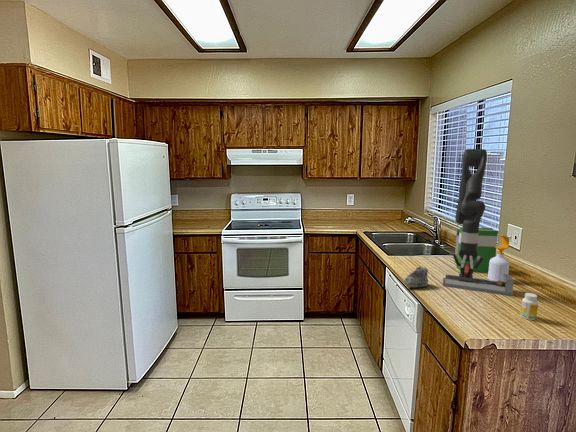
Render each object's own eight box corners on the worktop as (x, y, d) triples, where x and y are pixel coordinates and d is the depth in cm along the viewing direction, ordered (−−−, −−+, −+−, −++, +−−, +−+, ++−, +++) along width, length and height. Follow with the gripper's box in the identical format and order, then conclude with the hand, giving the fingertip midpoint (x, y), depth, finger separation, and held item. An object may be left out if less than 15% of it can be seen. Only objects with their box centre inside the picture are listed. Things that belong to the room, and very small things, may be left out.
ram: (458, 280, 177) (460, 262, 176) (471, 281, 175) (473, 263, 173) (458, 283, 172) (460, 265, 171) (472, 285, 170) (474, 266, 168)
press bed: (443, 280, 182) (444, 266, 181) (510, 289, 169) (511, 274, 168) (442, 285, 174) (443, 271, 173) (513, 296, 161) (514, 280, 160)
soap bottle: (483, 278, 186) (488, 233, 182) (496, 276, 189) (500, 232, 185) (499, 283, 177) (504, 236, 174) (511, 281, 181) (517, 235, 177)
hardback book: (488, 268, 202) (492, 228, 199) (493, 272, 195) (498, 230, 191) (456, 267, 205) (459, 227, 201) (460, 271, 197) (464, 229, 194)
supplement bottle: (518, 317, 139) (521, 294, 138) (521, 313, 143) (524, 291, 142) (535, 321, 136) (538, 298, 134) (537, 317, 140) (540, 294, 138)
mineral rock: (405, 289, 169) (406, 269, 167) (399, 281, 179) (400, 263, 178) (432, 290, 168) (434, 270, 166) (424, 282, 179) (426, 263, 177)
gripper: (485, 241, 170) (481, 274, 173) (453, 238, 176) (450, 270, 179) (486, 244, 164) (482, 279, 166) (453, 241, 170) (450, 275, 172)
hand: (466, 274), depth 173 cm, fingers closed on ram, 3 cm apart
